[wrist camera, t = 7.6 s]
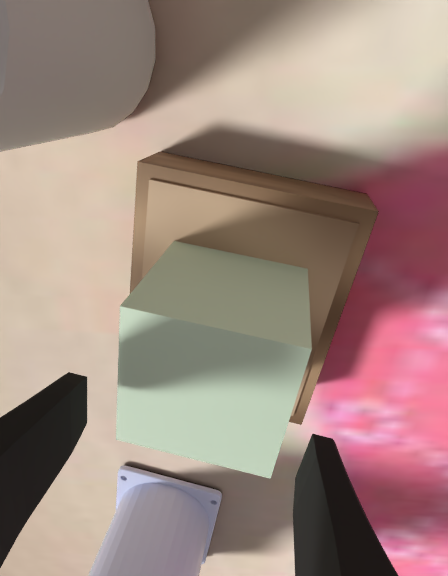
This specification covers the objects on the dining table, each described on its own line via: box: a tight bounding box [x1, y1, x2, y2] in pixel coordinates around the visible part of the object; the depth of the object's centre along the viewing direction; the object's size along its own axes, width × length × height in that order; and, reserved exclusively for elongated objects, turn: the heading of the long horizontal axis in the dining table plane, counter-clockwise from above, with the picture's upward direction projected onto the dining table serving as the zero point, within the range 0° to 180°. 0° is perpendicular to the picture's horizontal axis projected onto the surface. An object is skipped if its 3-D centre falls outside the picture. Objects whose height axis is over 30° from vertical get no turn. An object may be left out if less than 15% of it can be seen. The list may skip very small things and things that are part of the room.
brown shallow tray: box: [130, 152, 379, 425], centre depth 20 cm, size 12×10×3 cm
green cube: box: [116, 241, 312, 479], centre depth 16 cm, size 6×6×6 cm
